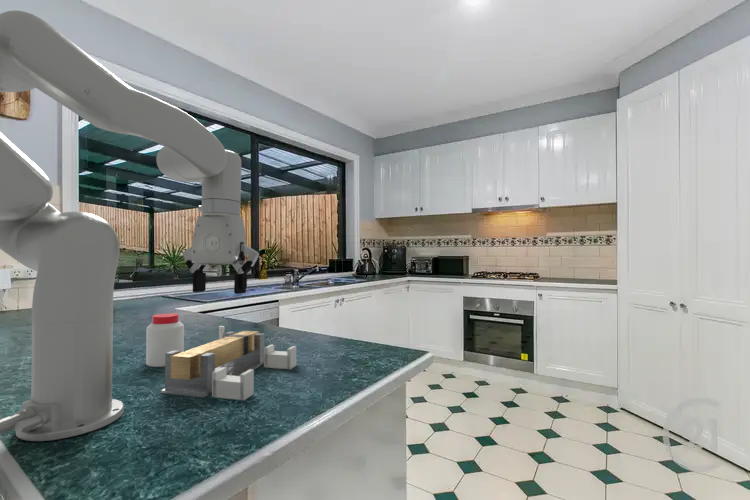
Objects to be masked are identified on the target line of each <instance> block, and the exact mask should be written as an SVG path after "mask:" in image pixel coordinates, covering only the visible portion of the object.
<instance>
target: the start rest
mask: <svg viewBox="0 0 750 500" xmlns="http://www.w3.org/2000/svg"><path fill="white" fill-rule="evenodd" d="M296 366H297V346H296V345H292V346H290V347H288V348H287V350H286V351H282V350H275V344H269V345H267V346H265V348H264V364H263V367H264V368H269V369H270V368H271V369H279V370H280V369H281V370H282V369H283V370H292V369H293V368H295V367H296ZM254 375H255V369H254V370H252V369H249V370H248V371H246V372H244V373H242V374H240V376H231V375H226V367H222V368H220V369H218V370H216V371H213V372H212V393H211V397H212V398H219V399H228V400H238V401H246V400H247V399H249V398H250V397H251V396H253V395H254V394H255V392H254V389H255V387H254V386H255V385H254V381H255V379H254V378H255V376H254Z"/></svg>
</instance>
